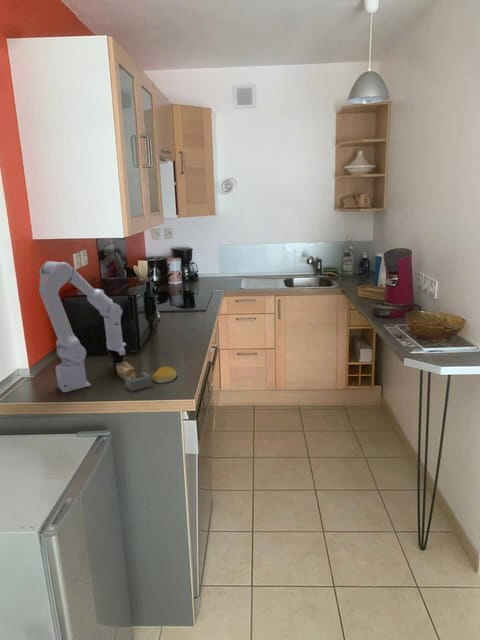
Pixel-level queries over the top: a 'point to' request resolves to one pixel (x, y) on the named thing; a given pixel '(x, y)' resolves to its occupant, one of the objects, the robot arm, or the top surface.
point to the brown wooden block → (125, 370)
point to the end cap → (138, 382)
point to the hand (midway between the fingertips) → (118, 368)
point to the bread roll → (164, 375)
